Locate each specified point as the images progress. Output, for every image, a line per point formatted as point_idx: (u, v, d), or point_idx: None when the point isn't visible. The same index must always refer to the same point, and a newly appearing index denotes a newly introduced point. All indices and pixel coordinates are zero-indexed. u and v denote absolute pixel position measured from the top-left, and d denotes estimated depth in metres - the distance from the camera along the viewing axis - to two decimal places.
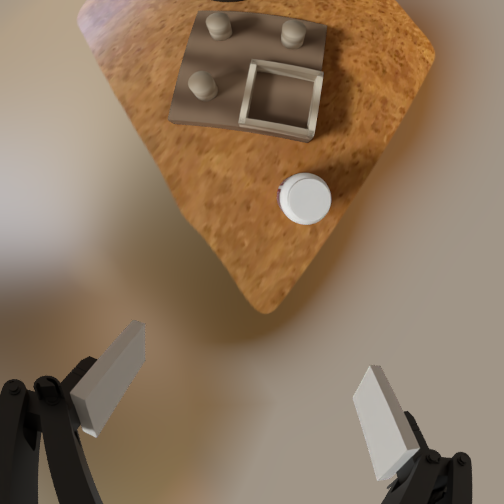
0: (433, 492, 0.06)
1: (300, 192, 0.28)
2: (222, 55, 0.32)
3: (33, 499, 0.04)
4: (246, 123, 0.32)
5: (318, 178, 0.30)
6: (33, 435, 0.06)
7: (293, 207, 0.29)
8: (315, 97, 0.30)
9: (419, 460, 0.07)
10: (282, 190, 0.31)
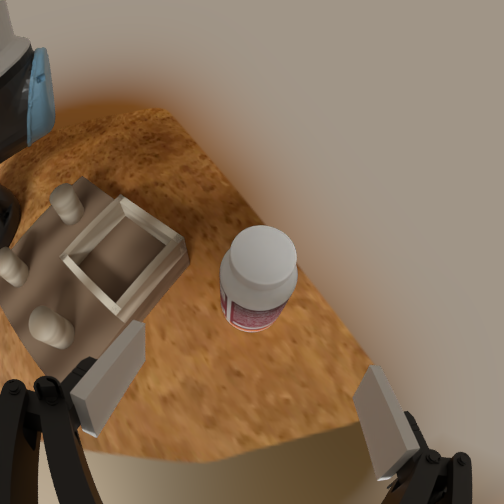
0: (433, 492, 0.06)
1: (247, 260, 0.19)
2: (38, 290, 0.23)
3: (33, 499, 0.04)
4: (122, 306, 0.21)
5: None
6: (33, 435, 0.06)
7: (265, 278, 0.18)
8: (140, 214, 0.26)
9: (419, 460, 0.07)
10: (233, 295, 0.20)
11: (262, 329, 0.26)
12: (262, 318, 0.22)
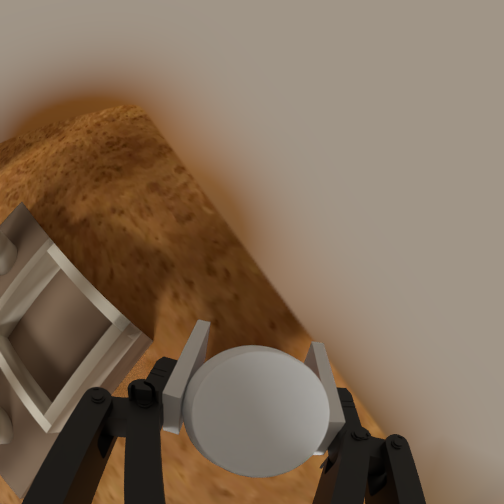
0: (373, 477, 0.08)
1: (227, 435, 0.07)
2: None
3: (87, 503, 0.05)
4: (52, 422, 0.10)
5: (214, 361, 0.11)
6: (106, 443, 0.08)
7: (264, 468, 0.07)
8: (71, 275, 0.15)
9: (344, 439, 0.09)
10: (207, 458, 0.09)
11: None
12: None
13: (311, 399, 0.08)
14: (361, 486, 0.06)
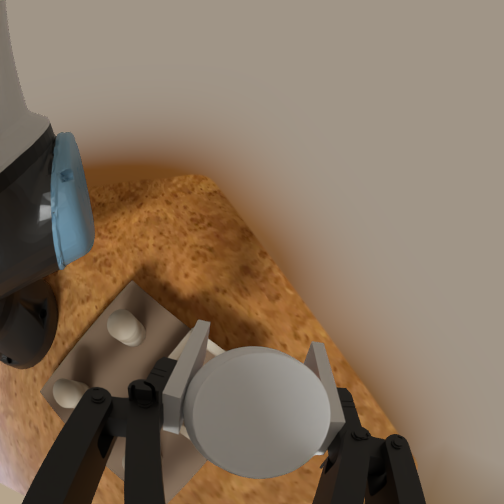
0: (373, 477, 0.08)
1: (228, 436, 0.07)
2: None
3: (86, 503, 0.05)
4: None
5: (215, 362, 0.11)
6: (106, 443, 0.08)
7: (265, 469, 0.07)
8: None
9: (344, 439, 0.09)
10: (208, 459, 0.09)
11: None
12: None
13: (312, 400, 0.08)
14: (361, 486, 0.06)
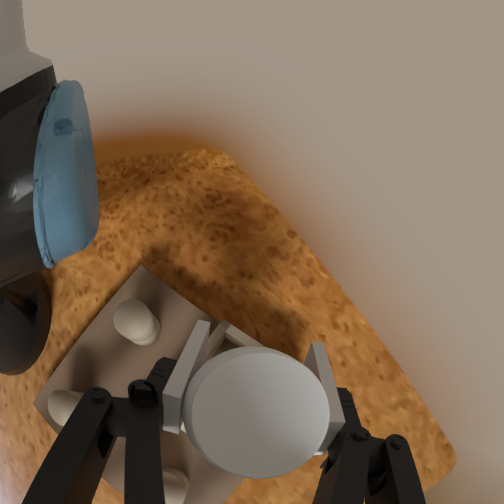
0: (373, 477, 0.08)
1: (227, 436, 0.07)
2: None
3: (86, 503, 0.05)
4: None
5: (214, 362, 0.11)
6: (106, 443, 0.08)
7: (264, 469, 0.07)
8: None
9: (344, 439, 0.09)
10: (207, 459, 0.09)
11: None
12: None
13: (311, 400, 0.08)
14: (361, 486, 0.06)
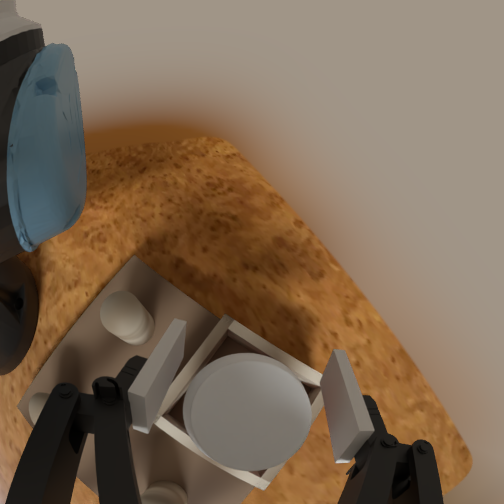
0: (397, 482, 0.08)
1: (221, 433, 0.08)
2: None
3: (66, 500, 0.04)
4: (270, 479, 0.14)
5: (211, 367, 0.12)
6: (78, 438, 0.07)
7: (253, 463, 0.08)
8: (269, 352, 0.18)
9: (374, 446, 0.08)
10: (205, 453, 0.10)
11: None
12: None
13: (295, 403, 0.09)
14: (385, 492, 0.06)
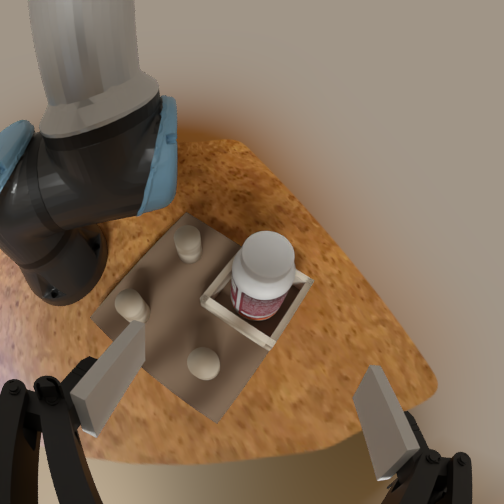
0: (433, 492, 0.06)
1: (255, 258, 0.24)
2: (168, 328, 0.30)
3: (33, 499, 0.04)
4: (276, 339, 0.29)
5: None
6: (33, 435, 0.06)
7: (269, 273, 0.23)
8: None
9: (419, 460, 0.07)
10: (243, 287, 0.25)
11: (266, 318, 0.31)
12: (266, 307, 0.27)
13: (286, 248, 0.24)
14: None
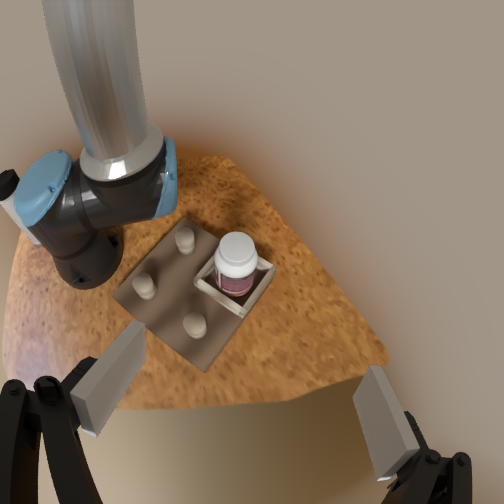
0: (433, 492, 0.06)
1: (228, 250, 0.36)
2: (170, 301, 0.43)
3: (33, 499, 0.04)
4: (247, 308, 0.41)
5: None
6: (33, 435, 0.06)
7: (236, 259, 0.35)
8: None
9: (419, 460, 0.07)
10: (221, 269, 0.37)
11: (240, 294, 0.44)
12: (238, 284, 0.40)
13: (249, 243, 0.37)
14: None
